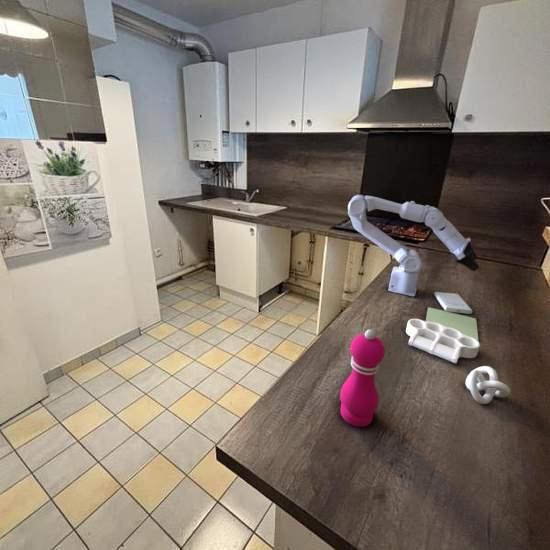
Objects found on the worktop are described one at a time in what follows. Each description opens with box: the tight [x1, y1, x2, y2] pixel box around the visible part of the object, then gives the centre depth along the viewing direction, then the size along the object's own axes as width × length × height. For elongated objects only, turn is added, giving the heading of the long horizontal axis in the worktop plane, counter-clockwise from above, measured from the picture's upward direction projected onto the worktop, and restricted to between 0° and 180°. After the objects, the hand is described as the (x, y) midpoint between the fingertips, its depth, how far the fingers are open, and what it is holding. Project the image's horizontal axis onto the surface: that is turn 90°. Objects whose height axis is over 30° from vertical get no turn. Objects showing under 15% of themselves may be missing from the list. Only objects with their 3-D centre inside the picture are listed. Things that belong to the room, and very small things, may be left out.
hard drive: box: [433, 291, 473, 315], centre depth 102 cm, size 2×8×12 cm
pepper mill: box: [339, 329, 386, 428], centre depth 55 cm, size 7×7×20 cm
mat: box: [425, 306, 479, 342], centre depth 91 cm, size 14×14×1 cm
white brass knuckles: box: [405, 318, 481, 364], centre depth 80 cm, size 3×18×15 cm
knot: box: [465, 365, 511, 405], centre depth 63 cm, size 8×8×6 cm
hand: (475, 264), depth 101 cm, fingers open, 7 cm apart
